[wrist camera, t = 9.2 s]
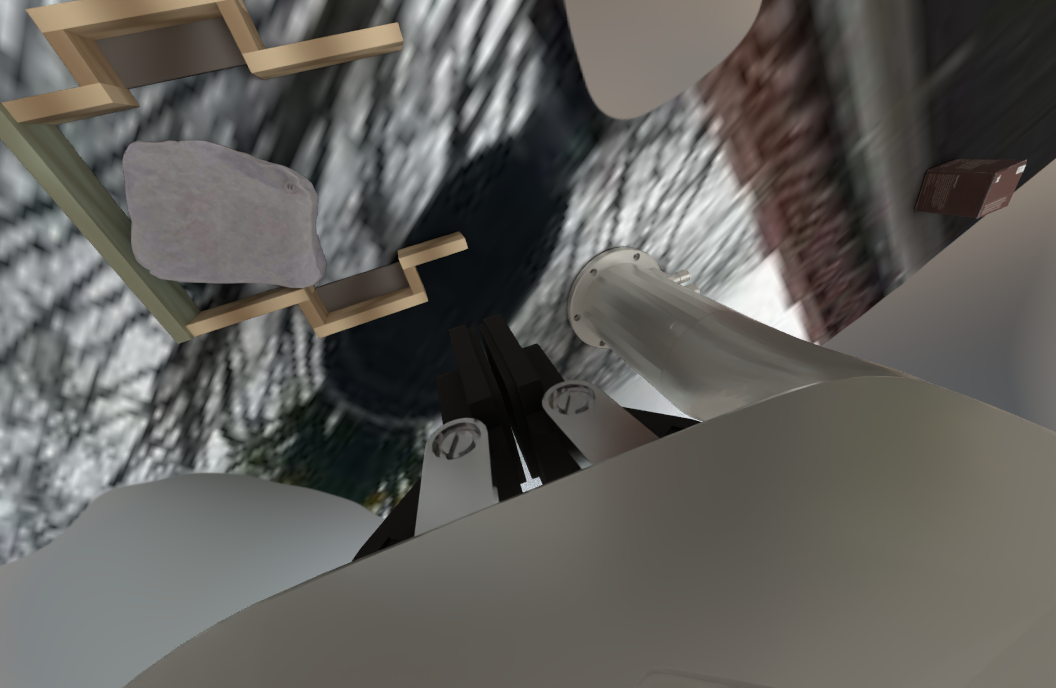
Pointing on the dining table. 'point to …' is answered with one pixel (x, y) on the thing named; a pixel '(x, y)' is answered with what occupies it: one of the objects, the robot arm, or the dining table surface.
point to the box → (969, 187)
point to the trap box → (105, 78)
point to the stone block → (220, 216)
